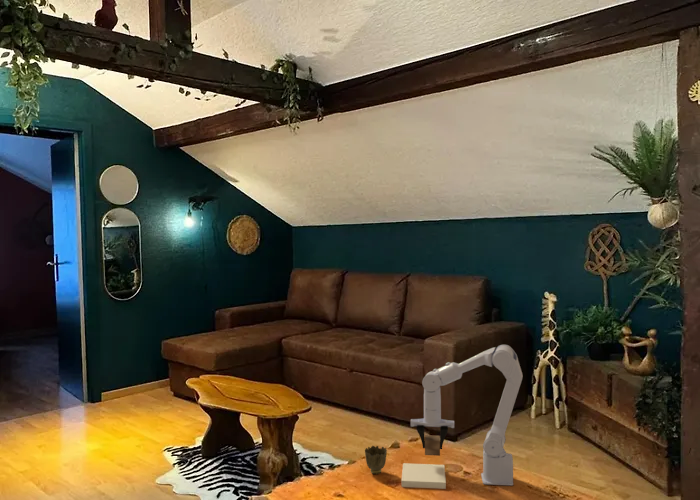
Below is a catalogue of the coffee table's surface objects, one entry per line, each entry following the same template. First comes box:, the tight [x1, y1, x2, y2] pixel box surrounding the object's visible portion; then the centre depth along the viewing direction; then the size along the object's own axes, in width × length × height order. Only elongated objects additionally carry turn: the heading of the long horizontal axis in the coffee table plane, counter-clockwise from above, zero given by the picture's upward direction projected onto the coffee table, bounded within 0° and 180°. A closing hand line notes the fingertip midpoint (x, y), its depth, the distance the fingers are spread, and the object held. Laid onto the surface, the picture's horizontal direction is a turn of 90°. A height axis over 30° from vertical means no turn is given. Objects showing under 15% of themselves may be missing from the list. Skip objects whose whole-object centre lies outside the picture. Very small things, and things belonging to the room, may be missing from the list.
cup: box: [364, 445, 388, 475], centre depth 204 cm, size 8×7×8 cm
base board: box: [400, 462, 447, 490], centre depth 200 cm, size 14×14×2 cm
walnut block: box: [424, 434, 441, 457], centre depth 204 cm, size 5×5×5 cm
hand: (432, 447), depth 204 cm, fingers closed on walnut block, 5 cm apart
